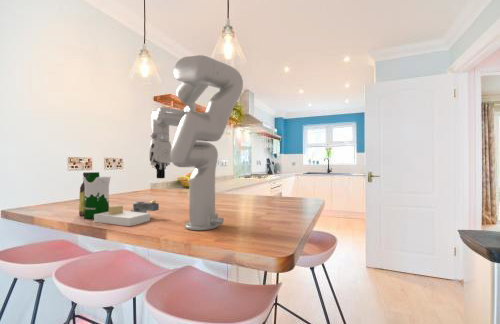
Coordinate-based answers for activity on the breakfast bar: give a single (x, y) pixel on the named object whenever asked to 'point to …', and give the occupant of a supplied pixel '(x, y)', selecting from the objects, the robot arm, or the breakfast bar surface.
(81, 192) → the sauce bottle
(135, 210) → the jamb post
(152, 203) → the latch arm
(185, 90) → the robot arm
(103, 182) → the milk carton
